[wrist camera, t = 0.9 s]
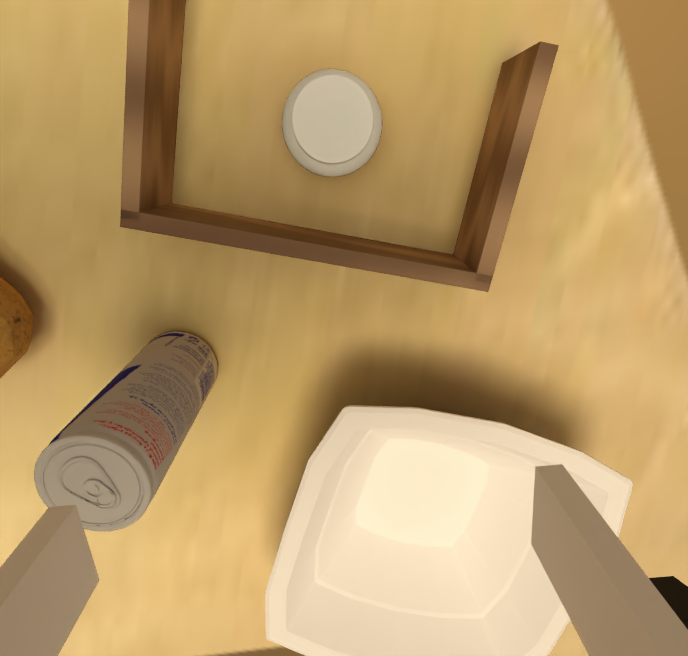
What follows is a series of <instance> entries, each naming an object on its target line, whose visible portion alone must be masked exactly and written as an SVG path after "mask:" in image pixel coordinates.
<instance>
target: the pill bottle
mask: <svg viewBox="0 0 688 656" xmlns="http://www.w3.org/2000/svg"><path fill="white" fill-rule="evenodd" d="M282 130H283V135H284V139H285V143H286V145H287V147H288V149H289V151H290V153H291V154H292V156H293V157H294V158H295V160H296V161H297V162H298V163H299V164H300V165H301V166H303V167H304V168H306V169H307V170H309V171H310V172H313V173H315V174H318V175H322V176H329V177H337V176H343V175H347V174H350V173H352V172H354V171H356V170H357V169H359V168H360V167H362V166H363V165H364V164H366V163H367V162H368V160H369V159H370V158H371V157H372V155H373V153H374V152H375V150H376V148H377V146H378V144H379V141H380V137H381V132H382V114H381V110H380V106H379V103H378V100H377V98H376V96H375V94H374V93H373V91H372V90H371V88H370V87H369V86H368V85H367V84H366V83H365V82H364V81H363V80H362V79H360V78H359V77H358V76H356V75H354V74H352V73H350V72H347V71H344V70H340V69H324V70H320V71H317V72H314V73H312V74H310V75H308V76H306V77H305V78H304V79H302V80H301V81H300V82H299V83H298V84H297V85H296V86H295V87H294V89H293V90H292V91H291V93H290V95H289V96H288V98H287V101H286V103H285V106H284V110H283V116H282Z"/></svg>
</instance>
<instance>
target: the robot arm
mask: <svg viewBox="0 0 688 656" xmlns="http://www.w3.org/2000/svg"><path fill="white" fill-rule="evenodd" d="M531 545H532V547H533V549H534V551H535V552H536V554H537V556H538V558H539V560H540V562H541V564H542V566H543V568H544V570H545V572H546V574H547V576H548V577H549V579H550V581H551V583H552V585H553V587H554V589H555V591H556V593H557V595H558V597H559V599H560V600H561V602H562V604H563V606H564V608H565V610H566V612H567V614H568V616H569V618H570V620H571V622H572V624H573V625H574V627H575V629H576V631H577V633H578V635H579V637H580V639H581V641H582V643H583V645H584V647H585V648H586V650H587V652H588V654H589V656H688V587H687V586H686V585H685V584H683V583H682V582H680V581H679V580H678V579H676V578H675V577H674V576H669V577H657V578H648V577H647V575H646V574H645V573H644V571H643V570H642V569H641V567H640V566H639V565H638V563H637V562H636V561H635V560H634V558H633V557H632V556H631V554H630V553H629V552H628V550H627V549H626V548H625V546H624V545H623V544H622V542H621V541H620V540H619V538H618V537H617V536H616V534H615V533H614V532H613V531H612V529H611V528H610V527H609V525H608V524H607V523H606V521H605V520H604V519H603V517H602V516H601V515H600V513H599V512H598V511H597V509H596V508H595V507H594V506H593V504H592V503H591V502H590V500H589V499H588V498H587V496H586V495H585V494H584V492H583V491H582V490H581V488H580V487H579V486H578V484H577V483H576V482H575V480H574V479H573V478H572V477H571V475H570V474H569V473H568V471H567V470H566V469H565V467H564V466H563V465H562V464H559V465H547V466H535V481H534V499H533V517H532V535H531ZM98 581H99V577H98V574H97V570H96V567H95V564H94V561H93V558H92V554H91V551H90V548H89V545H88V542H87V538H86V535H85V532H84V529H83V526H82V522H81V519H80V516H79V513H78V510H77V506H76V505H67V506H55V507H49V508H48V509H47V510H46V512H45V513H44V514H43V515H42V517H41V518H40V519H39V520H38V522H37V523H36V524H35V525H34V526H33V528H32V529H31V530H30V531H29V533H28V534H27V535H26V536H25V538H24V539H23V540H22V541H21V543H20V544H19V545H18V546H17V548H16V549H15V550H14V551H13V552H12V554H11V555H10V556H9V557H8V559H7V560H6V561H5V562H4V564H3V565H2V566H1V567H0V656H58V654H59V652H60V651H61V649H62V647H63V645H64V643H65V641H66V640H67V638H68V636H69V634H70V632H71V631H72V629H73V627H74V625H75V623H76V621H77V620H78V618H79V616H80V614H81V612H82V611H83V609H84V607H85V605H86V603H87V601H88V600H89V598H90V596H91V594H92V592H93V591H94V589H95V587H96V585H97V583H98Z"/></svg>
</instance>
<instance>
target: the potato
mask: <svg viewBox="0 0 688 656" xmlns="http://www.w3.org/2000/svg"><path fill="white" fill-rule="evenodd" d="M32 322H33V313H32V311H31V310H30V308H29V307H28V305H27V304H26V302H25V300H24V299H23V297H22V296H21V294H20V293H19V292H17V291H16V290H15V289H14V288H13V287H12V286H11V285H9V284H8V283H7V282H6V281H5V280H4V279H2V278H1V277H0V378H1V377H2V376H3V375H4V374H5V373H6V372H7V371H8V370H9V369H10V368H11V367H12V366H13V365H14V364H15V363H16V362H17V361H18V360H19V359H20V358H21V357H22V356H23V355H24V354H25V353H26V352H27V350H28V347H29V344H30V341H31V333H32Z"/></svg>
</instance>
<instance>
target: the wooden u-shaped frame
mask: <svg viewBox="0 0 688 656" xmlns="http://www.w3.org/2000/svg"><path fill="white" fill-rule="evenodd" d="M185 2H186V0H129V9H128V35H127V62H126V88H125V114H124V141H123V167H122V193H121V220H120V227H124V228H130V229H135V230H141V231H147V232H152V233H158V234H164V235H169V236H175V237H181V238H186V239H192V240H198V241H203V242H209V243H215V244H220V245H226V246H232V247H237V248H243V249H249V250H254V251H260V252H266V253H271V254H277V255H282V256H288V257H294V258H299V259H305V260H311V261H316V262H322V263H328V264H333V265H339V266H345V267H350V268H356V269H362V270H367V271H373V272H379V273H384V274H390V275H396V276H401V277H407V278H413V279H418V280H424V281H429V282H435V283H441V284H446V285H452V286H458V287H463V288H469V289H475V290H480V291H486V292H488V291H489V287H490V284H491V280H492V277H493V273H494V270H495V266H496V263H497V259H498V256H499V252H500V249H501V245H502V242H503V238H504V235H505V231H506V228H507V224H508V221H509V217H510V214H511V210H512V207H513V203H514V200H515V196H516V193H517V189H518V186H519V182H520V179H521V175H522V172H523V168H524V165H525V161H526V158H527V154H528V151H529V147H530V144H531V140H532V137H533V133H534V130H535V126H536V123H537V119H538V116H539V112H540V109H541V105H542V102H543V98H544V95H545V91H546V88H547V84H548V81H549V77H550V74H551V70H552V67H553V63H554V60H555V56H556V53H557V49H558V46H559V45H554V44H550V43H545V42H539V43H537V44H535V45H533V46H532V47H530V48H528V49H526V50H525V51H523V52H521V53H519V54H518V55H516V56H514V57H512V58H511V59H509V60H507V61H505V62H504V63H503V64H502V67H501V71H500V75H499V79H498V83H497V87H496V91H495V95H494V99H493V103H492V106H491V110H490V114H489V118H488V122H487V126H486V130H485V134H484V138H483V142H482V145H481V149H480V153H479V157H478V161H477V165H476V169H475V173H474V177H473V181H472V185H471V188H470V192H469V196H468V200H467V204H466V208H465V212H464V216H463V220H462V224H461V227H460V231H459V235H458V239H457V243H456V247H455V251H454V255H451V254H445V253H440V252H434V251H429V250H423V249H418V248H412V247H407V246H401V245H396V244H390V243H385V242H379V241H374V240H368V239H363V238H357V237H352V236H347V235H341V234H336V233H330V232H325V231H319V230H314V229H308V228H303V227H297V226H292V225H286V224H281V223H275V222H270V221H264V220H259V219H253V218H248V217H242V216H237V215H231V214H226V213H220V212H215V211H209V210H204V209H198V208H193V207H187V206H182V205H176V204H171V202H172V188H173V174H174V159H175V145H176V131H177V116H178V102H179V88H180V73H181V59H182V45H183V30H184V16H185Z"/></svg>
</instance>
